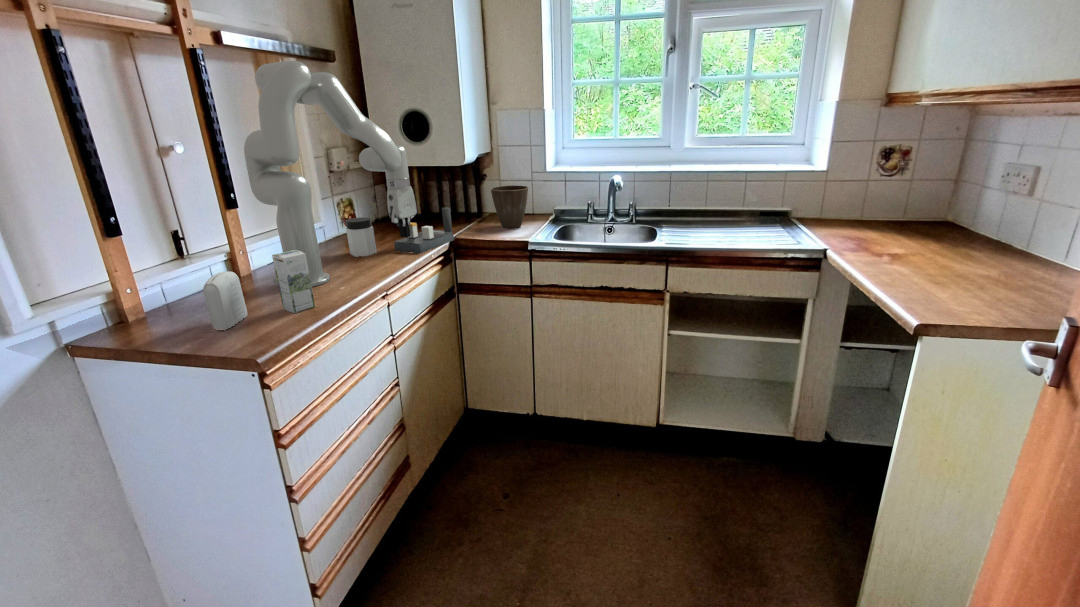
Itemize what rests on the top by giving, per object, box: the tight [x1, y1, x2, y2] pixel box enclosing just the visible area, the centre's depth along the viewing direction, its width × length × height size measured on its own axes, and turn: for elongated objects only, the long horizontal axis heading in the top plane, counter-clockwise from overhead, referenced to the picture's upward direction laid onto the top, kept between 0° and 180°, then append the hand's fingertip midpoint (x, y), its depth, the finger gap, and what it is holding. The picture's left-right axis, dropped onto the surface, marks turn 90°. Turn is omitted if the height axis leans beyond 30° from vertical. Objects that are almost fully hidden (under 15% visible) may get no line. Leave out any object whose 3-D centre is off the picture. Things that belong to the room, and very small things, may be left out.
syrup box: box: [272, 250, 316, 314], centre depth 130 cm, size 6×6×14 cm
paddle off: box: [421, 225, 434, 239], centre depth 183 cm, size 2×3×4 cm
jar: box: [345, 217, 377, 258], centre depth 180 cm, size 9×8×12 cm
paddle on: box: [409, 222, 419, 238], centre depth 186 cm, size 2×3×5 cm
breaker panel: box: [393, 229, 454, 254], centre depth 189 cm, size 20×11×4 cm, turn 155°
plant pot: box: [490, 185, 529, 230], centre depth 211 cm, size 15×15×16 cm
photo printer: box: [202, 270, 248, 330], centre depth 122 cm, size 10×4×12 cm, turn 3°
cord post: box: [441, 206, 455, 241], centre depth 195 cm, size 4×4×12 cm
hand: (405, 236), depth 184 cm, fingers closed
